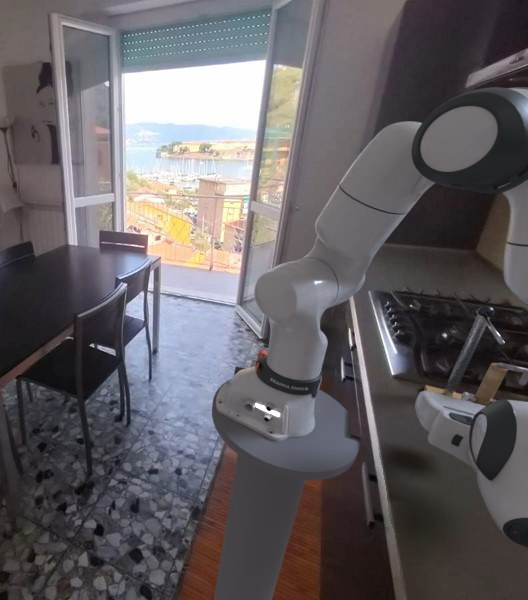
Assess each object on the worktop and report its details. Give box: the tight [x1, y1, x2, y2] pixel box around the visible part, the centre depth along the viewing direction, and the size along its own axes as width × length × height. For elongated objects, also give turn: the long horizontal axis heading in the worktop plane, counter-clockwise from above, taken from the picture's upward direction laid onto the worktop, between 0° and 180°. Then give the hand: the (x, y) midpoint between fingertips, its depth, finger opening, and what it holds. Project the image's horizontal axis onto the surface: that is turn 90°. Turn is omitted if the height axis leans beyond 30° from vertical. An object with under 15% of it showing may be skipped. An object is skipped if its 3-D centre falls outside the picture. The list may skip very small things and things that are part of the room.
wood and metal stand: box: [423, 305, 505, 399], centre depth 78 cm, size 8×15×26 cm, turn 149°
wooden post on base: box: [474, 362, 528, 406], centre depth 66 cm, size 7×5×18 cm
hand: (479, 398), depth 67 cm, fingers closed on wooden post on base, 2 cm apart
